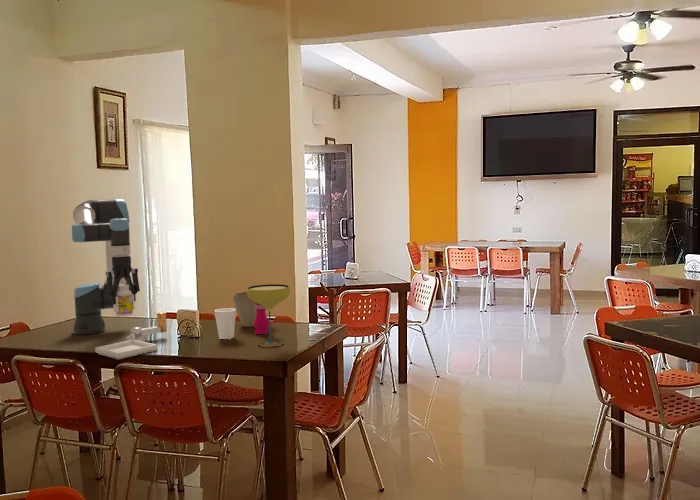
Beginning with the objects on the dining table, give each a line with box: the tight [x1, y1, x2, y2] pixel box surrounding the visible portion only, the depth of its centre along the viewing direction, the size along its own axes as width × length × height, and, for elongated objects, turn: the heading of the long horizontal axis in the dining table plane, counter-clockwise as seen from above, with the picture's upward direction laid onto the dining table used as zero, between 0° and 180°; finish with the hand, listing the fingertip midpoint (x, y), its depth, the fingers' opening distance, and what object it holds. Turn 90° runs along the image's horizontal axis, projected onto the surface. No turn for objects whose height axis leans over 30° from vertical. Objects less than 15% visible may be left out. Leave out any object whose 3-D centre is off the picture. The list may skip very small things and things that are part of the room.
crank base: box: [125, 333, 149, 343], centre depth 294 cm, size 9×9×4 cm
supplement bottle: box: [115, 284, 134, 317], centre depth 274 cm, size 7×7×13 cm
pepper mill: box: [253, 302, 269, 335], centre depth 305 cm, size 7×7×20 cm
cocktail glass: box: [246, 283, 291, 344], centre depth 281 cm, size 18×18×25 cm
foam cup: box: [214, 307, 237, 340], centre depth 297 cm, size 10×9×13 cm
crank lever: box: [130, 312, 168, 337], centre depth 298 cm, size 16×4×8 cm, turn 130°
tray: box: [94, 340, 158, 360], centre depth 276 cm, size 18×18×2 cm
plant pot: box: [232, 291, 257, 328], centre depth 326 cm, size 15×15×16 cm
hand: (124, 310), depth 275 cm, fingers closed on supplement bottle, 7 cm apart
